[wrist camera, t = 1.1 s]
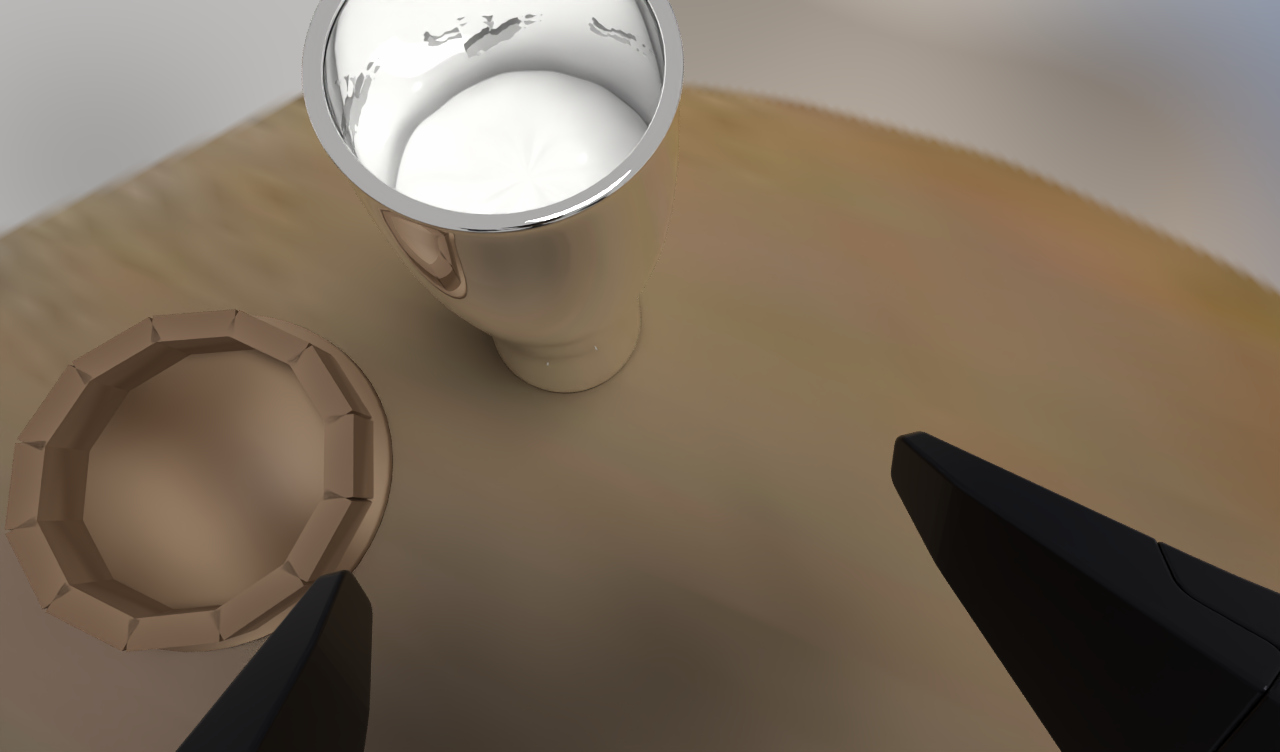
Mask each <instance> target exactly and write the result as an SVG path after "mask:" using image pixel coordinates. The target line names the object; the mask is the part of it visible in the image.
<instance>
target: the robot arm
mask: <svg viewBox="0 0 1280 752" xmlns="http://www.w3.org/2000/svg"><path fill="white" fill-rule="evenodd" d="M891 477H892V481H893V484H894V486H895V488H896V490H897V492H898V494H899V496H900V498H901V500H902V502H903V504H904V506H905V507H906V509H907V511H908V513H909V515H910V517H911V519H912V521H913V523H914V525H915V526H916V528H917V530H918V532H919V534H920V536H921V538H922V540H923V542H924V544H925V545H926V547H927V549H928V551H929V553H930V555H931V556H932V558H933V560H934V562H935V564H936V565H937V567H938V568H939V570H940V571H941V573H942V575H943V576H944V578H945V579H946V581H947V582H948V584H949V585H950V587H951V588H952V590H953V591H954V593H955V594H956V596H957V597H958V599H959V600H960V602H961V603H962V604H963V606H964V607H965V609H966V610H967V612H968V613H969V615H970V616H971V618H972V619H973V621H974V622H975V624H976V625H977V627H978V628H979V630H980V631H981V633H982V634H983V636H984V637H985V639H986V640H987V642H988V643H989V645H990V646H991V648H992V649H993V651H994V652H995V654H996V655H997V657H998V658H999V660H1000V661H1001V663H1002V664H1003V665H1004V667H1005V668H1006V670H1007V671H1008V673H1009V674H1010V676H1011V677H1012V679H1013V680H1014V682H1015V683H1016V685H1017V686H1018V688H1019V689H1020V691H1021V692H1022V694H1023V695H1024V697H1025V698H1026V700H1027V701H1028V703H1029V704H1030V706H1031V707H1032V709H1033V710H1034V712H1035V713H1036V715H1037V716H1038V718H1039V719H1040V721H1041V722H1042V724H1043V725H1044V726H1045V728H1046V729H1047V731H1048V732H1049V734H1050V735H1051V737H1052V738H1053V740H1054V741H1055V743H1056V744H1057V746H1058V747H1059V749H1060V750H1061V752H1280V593H1277V592H1275V591H1272V590H1270V589H1268V588H1265V587H1263V586H1260V585H1258V584H1255V583H1253V582H1251V581H1248V580H1246V579H1243V578H1241V577H1238V576H1236V575H1234V574H1232V573H1229V572H1227V571H1225V570H1223V569H1220V568H1218V567H1216V566H1214V565H1211V564H1209V563H1207V562H1205V561H1202V560H1200V559H1198V558H1196V557H1193V556H1191V555H1189V554H1187V553H1185V552H1183V551H1180V550H1178V549H1176V548H1174V547H1172V546H1170V545H1167V544H1165V543H1163V542H1158V543H1157V542H1156V540H1155V539H1154V538H1152V537H1150V536H1148V535H1145V534H1143V533H1141V532H1139V531H1137V530H1135V529H1133V528H1130V527H1128V526H1126V525H1124V524H1122V523H1120V522H1117V521H1115V520H1113V519H1111V518H1109V517H1107V516H1104V515H1102V514H1100V513H1098V512H1096V511H1094V510H1092V509H1089V508H1087V507H1085V506H1083V505H1081V504H1079V503H1076V502H1074V501H1072V500H1070V499H1068V498H1066V497H1063V496H1061V495H1059V494H1057V493H1055V492H1053V491H1051V490H1048V489H1046V488H1044V487H1042V486H1040V485H1038V484H1035V483H1033V482H1031V481H1029V480H1027V479H1025V478H1022V477H1020V476H1018V475H1016V474H1014V473H1012V472H1010V471H1007V470H1005V469H1003V468H1001V467H999V466H997V465H994V464H992V463H990V462H988V461H986V460H984V459H981V458H979V457H977V456H975V455H973V454H971V453H968V452H966V451H964V450H962V449H960V448H958V447H956V446H953V445H951V444H949V443H947V442H945V441H943V440H940V439H938V438H936V437H934V436H932V435H930V434H927V433H925V432H921V431H918V432H913V433H909V434H905V435H901V436H899V437H898V438H897V439H896V441H895V445H894V452H893V459H892V467H891ZM371 649H372V607H371V603H370V601H369V599H368V597H367V595H366V594H365V592H364V591H363V589H362V588H361V586H360V584H359V583H358V581H357V580H356V578H355V577H354V575H353V574H352V573H351V572H350V571H349V570H340V571H336V572H332V573H328V574H324V575H322V576H320V577H319V578H317V579H316V580H315V582H314V583H313V584H312V585H311V587H310V588H309V589H308V590H307V591H306V593H305V594H304V595H303V596H302V598H301V599H300V600H299V601H298V602H297V604H296V605H295V606H294V607H293V609H292V610H291V611H290V612H289V613H288V615H287V616H286V617H285V618H284V620H283V621H282V622H281V623H280V624H279V626H278V627H277V628H276V629H275V631H274V632H273V633H272V634H271V635H270V637H269V638H268V639H267V640H266V642H265V643H264V644H263V645H262V646H261V648H260V649H259V650H258V651H257V653H256V654H255V655H254V656H253V657H252V659H251V660H250V661H249V662H248V664H247V665H246V666H245V667H244V668H243V670H242V671H241V672H240V673H239V675H238V676H237V677H236V678H235V679H234V681H233V682H232V683H231V684H230V686H229V687H228V688H227V689H226V691H225V692H224V693H223V694H222V695H221V697H220V698H219V699H218V700H217V702H216V703H215V704H214V705H213V706H212V708H211V709H210V710H209V711H208V713H207V714H206V715H205V716H204V717H203V719H202V720H201V721H200V722H199V724H198V725H197V726H196V727H195V728H194V730H193V731H192V732H191V733H190V735H189V736H188V737H187V738H186V739H185V741H184V742H183V743H182V744H181V746H180V747H179V748H178V749H177V750H176V752H364V747H365V740H366V733H367V726H368V717H369V705H370V682H371Z"/></svg>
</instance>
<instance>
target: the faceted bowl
mask: <svg viewBox="0 0 1280 752" xmlns="http://www.w3.org/2000/svg"><path fill="white" fill-rule="evenodd" d="M72 362H73V364H74V366H71V365H68V367H67V368H66V369H65V371H64V372H63V374H62V375H61V377H60V378H59V379H58V381H57V382H56V384H55V385H54V387H53V388H52V390H51V391H50V392H49V394H48V395H47V397H46V398H45V400H44V401H43V402H42V404H41V405H40V407H39V408H38V410H37V411H36V412H35V414H34V415H33V417H32V418H31V420H30V421H29V423H28V424H27V425H26V427H25V428H24V430H23V431H22V433H21V434H20V435H19V437H18V438H17V439H18V440H20V441H22V442H24V443H15V450H14V458H13V467H12V475H11V483H10V491H9V499H8V507H7V515H6V523H5V530H11V531H10V532H8V533H6V536H7V538H8V540H9V542H10V544H11V547H12V549H13V551H14V553H15V555H16V557H17V559H18V561H19V563H20V565H21V567H22V569H23V571H24V573H25V575H26V577H27V579H28V581H29V583H30V585H31V587H32V589H33V591H34V593H35V595H36V597H37V599H38V601H39V603H40V605H41V607H42V609H45V608H48V609H47V610H46V613H48V614H50V615H52V616H54V617H56V618H58V619H60V620H62V621H64V622H66V623H68V624H70V625H72V626H74V627H76V628H78V629H80V630H82V631H84V632H86V633H87V634H89V635H91V636H93V637H95V638H97V639H99V640H101V641H103V642H105V643H107V644H109V645H111V646H113V647H115V648H117V649H119V650H121V651H124V650H127V651H126V652H130V651H139V650H149V649H161V650H171V651H181V652H195V651H211V650H217V649H223V648H229V647H234V646H237V645H240V644H243V643H246V642H250V641H253V640H256V639H259V638H262V637H265V636H267V635H269V634H271V633H273V632H274V631H275V629H276V628H277V627H278V626H279V624H280V623H281V622H282V621H283V620H284V618H285V617H286V616H287V615H288V613H289V612H290V611H291V610H292V609H293V607H294V606H295V605H296V604H297V602H298V601H299V600H300V599H301V598H302V596H303V595H304V594H305V593H306V591H307V590H308V589H309V588H310V587H311V585H312V584H313V583H314V582H315V580H316V579H317V578H319V577H320V576H322V575H324V574H328V573H332V572H336V571H340V570H349V571H350V572H351V573H352V571H353V570H354V569H355V568H356V566H357V565H358V564H359V562H360V561H361V559H362V558H363V556H364V554H365V553H366V551H367V549H368V548H369V546H370V545H371V543H372V541H373V538H374V536H375V534H376V532H377V530H378V528H379V526H380V523H381V520H382V517H383V514H384V511H385V508H386V505H387V502H388V497H389V491H390V486H391V481H392V464H393V455H392V442H391V435H390V430H389V426H388V421H387V418H386V415H385V412H384V409H383V407H382V404H381V401H380V399H379V397H378V395H377V393H376V392H375V390H374V388H373V386H372V384H371V383H370V381H369V380H368V379H367V377H366V376H365V374H364V373H363V372H362V370H361V369H360V368H359V367H358V366H357V365H356V364H355V363H354V362H353V361H352V360H351V359H350V358H349V357H348V356H347V355H346V354H345V353H344V352H342V351H341V350H340V349H338V348H337V347H336V346H334V345H333V344H332V343H330V342H329V341H327V340H325V339H324V338H322V337H320V336H318V335H316V334H315V333H313V332H311V331H309V330H307V329H305V328H303V327H300V326H297V325H295V324H292V323H290V322H287V321H283V320H279V319H274V318H270V317H264V316H254V315H249V314H247V313H244V312H242V311H240V310H239V311H237V310H222V311H209V312H196V313H183V314H170V315H157V316H153V319H152V318H150V317H148V318H146V319H145V320H143V321H141V322H140V323H138V324H136V325H134V326H133V327H131V328H129V329H127V330H126V331H124V332H122V333H121V334H119V335H117V336H115V337H114V338H112V339H110V340H109V341H107V342H105V343H103V344H102V345H100V346H98V347H97V348H95V349H93V350H91V351H90V352H88V353H86V354H84V355H83V356H81V357H79V358H78V359H76V360H74V361H72Z"/></svg>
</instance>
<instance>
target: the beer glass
mask: <svg viewBox="0 0 1280 752" xmlns="http://www.w3.org/2000/svg"><path fill="white" fill-rule="evenodd" d="M683 78H684V54H683V45H682V40H681V34H680V30H679V26H678V23H677V20H676V17H675V14H674V12H673V9H672V7H671V5H670V3H669V1H668V0H320V2H319V4H318V6H317V8H316V10H315V12H314V15H313V17H312V20H311V23H310V25H309V29H308V32H307V36H306V39H305V44H304V50H303V57H302V87H303V94H304V100H305V104H306V108H307V112H308V115H309V118H310V121H311V124H312V126H313V129H314V131H315V133H316V135H317V137H318V139H319V141H320V143H321V145H322V146H323V148H324V150H325V151H326V153H327V154H328V156H329V157H330V158H331V160H332V161H333V162H334V164H335V165H336V166H337V168H338V169H339V170H340V171H341V172H342V173H343V174H344V176H345V177H346V179H347V180H348V182H349V183H350V185H351V187H352V188H353V190H354V192H355V193H356V195H357V197H358V198H359V200H360V201H361V203H362V205H363V206H364V208H365V209H366V211H367V212H368V214H369V215H370V217H371V218H372V220H373V222H374V223H375V225H376V226H377V228H378V229H379V231H380V232H381V234H382V235H383V237H384V238H385V239H386V241H387V242H388V243H389V245H390V246H391V247H392V249H393V250H394V251H395V253H396V254H397V255H398V256H399V258H400V259H401V260H402V262H403V263H404V264H405V266H406V267H407V268H408V269H409V271H410V272H411V273H412V274H413V275H414V276H415V277H416V278H417V279H418V280H419V281H420V282H421V283H422V284H423V285H424V286H425V287H426V288H427V289H428V290H429V291H430V292H431V293H432V294H433V295H434V296H435V297H436V298H437V299H438V300H439V301H440V302H441V303H442V304H443V305H444V306H445V307H447V308H448V309H449V310H451V311H452V312H453V313H455V314H456V315H458V316H459V317H461V318H462V319H464V320H465V321H467V322H468V323H470V324H471V325H473V326H474V327H476V328H478V329H479V330H481V331H483V332H485V333H487V334H489V335H491V336H492V337H493V341H494V344H495V346H496V349H497V351H498V353H499V355H500V356H501V358H502V360H503V361H504V362H505V364H506V365H507V366H508V367H509V369H510V370H511V371H512V372H513V373H514V374H516V375H517V376H518V377H519V378H521V379H522V380H524V381H525V382H527V383H529V384H531V385H533V386H535V387H537V388H540V389H543V390H547V391H552V392H562V393H567V392H577V391H583V390H586V389H590V388H593V387H595V386H597V385H599V384H601V383H603V382H605V381H607V380H608V379H610V378H611V377H612V376H614V375H615V374H616V373H617V372H618V371H619V370H620V369H621V368H622V367H623V366H624V364H625V363H626V362H627V361H628V359H629V358H630V356H631V354H632V353H633V351H634V349H635V346H636V344H637V341H638V338H639V334H640V327H641V312H640V306H639V301H638V297H639V296H640V294H641V293H642V291H643V290H644V288H645V286H646V284H647V283H648V281H649V279H650V277H651V275H652V272H653V270H654V268H655V266H656V264H657V262H658V260H659V258H660V255H661V253H662V250H663V247H664V244H665V240H666V236H667V232H668V228H669V224H670V220H671V216H672V212H673V206H674V200H675V191H676V183H677V175H678V163H679V140H680V98H681V93H682V87H683Z"/></svg>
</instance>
